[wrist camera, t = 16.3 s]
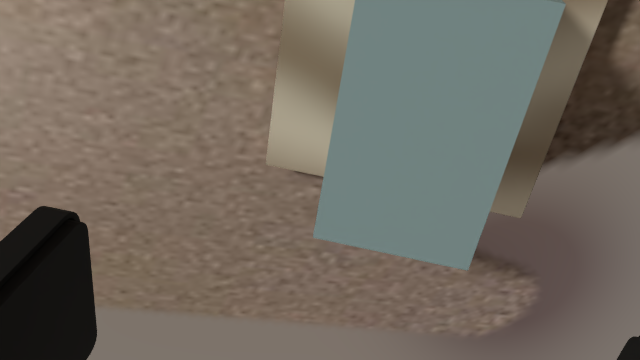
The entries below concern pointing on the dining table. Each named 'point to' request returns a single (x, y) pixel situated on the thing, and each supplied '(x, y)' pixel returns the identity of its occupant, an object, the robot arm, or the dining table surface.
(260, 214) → the dining table surface
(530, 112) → the birch board
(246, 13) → the dining table surface
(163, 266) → the dining table surface
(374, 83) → the sanding block
